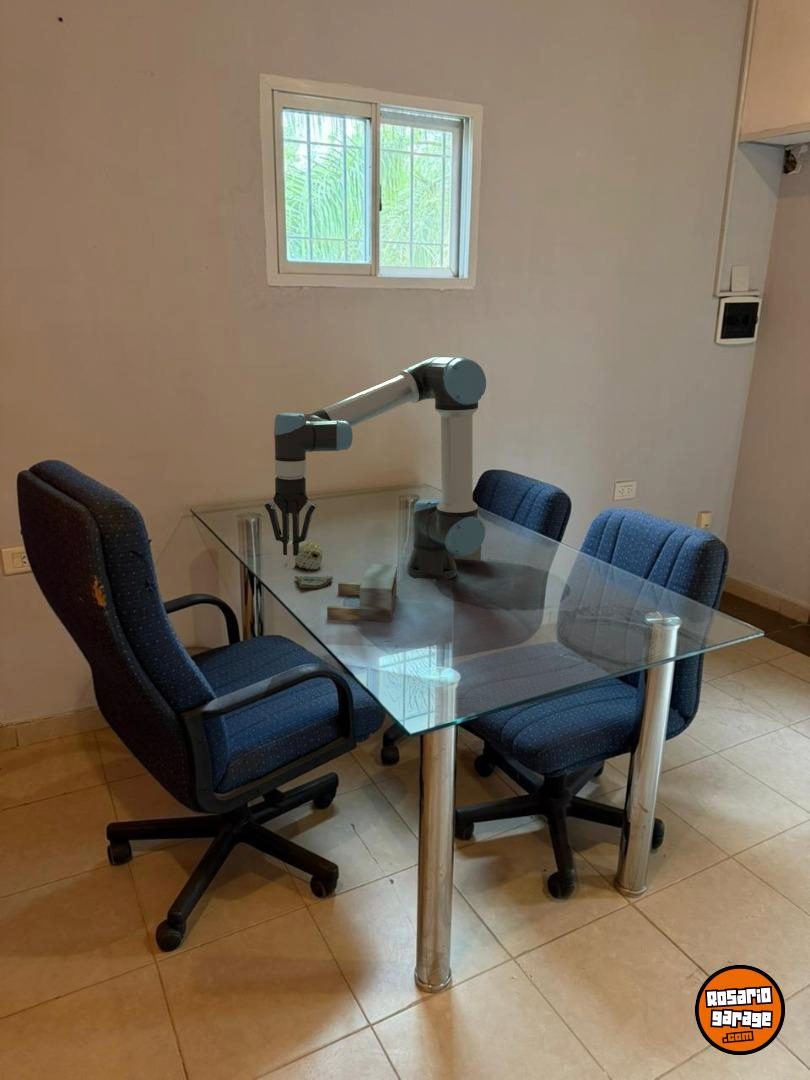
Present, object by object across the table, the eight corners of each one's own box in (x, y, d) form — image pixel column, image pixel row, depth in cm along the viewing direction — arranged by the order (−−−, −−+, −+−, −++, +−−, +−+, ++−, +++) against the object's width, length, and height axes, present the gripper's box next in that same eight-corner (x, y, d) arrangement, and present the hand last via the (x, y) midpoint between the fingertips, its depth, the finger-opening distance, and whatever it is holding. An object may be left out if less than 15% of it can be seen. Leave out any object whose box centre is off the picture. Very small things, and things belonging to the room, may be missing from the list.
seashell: (320, 569, 218) (309, 536, 217) (291, 578, 221) (279, 546, 220) (331, 562, 228) (320, 531, 227) (303, 571, 230) (292, 540, 230)
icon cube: (449, 549, 246) (450, 520, 243) (479, 551, 245) (481, 521, 242) (448, 558, 236) (449, 528, 233) (480, 560, 236) (482, 529, 233)
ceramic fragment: (295, 584, 202) (294, 568, 212) (295, 594, 204) (294, 578, 213) (335, 585, 204) (332, 569, 214) (334, 595, 206) (332, 579, 215)
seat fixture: (396, 595, 202) (397, 565, 200) (390, 621, 184) (391, 589, 181) (338, 592, 203) (338, 562, 201) (327, 619, 184) (327, 586, 182)
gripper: (319, 474, 189) (319, 564, 195) (268, 472, 189) (269, 561, 195) (313, 480, 181) (313, 573, 188) (260, 478, 182) (262, 570, 188)
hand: (291, 567), depth 191 cm, fingers closed
